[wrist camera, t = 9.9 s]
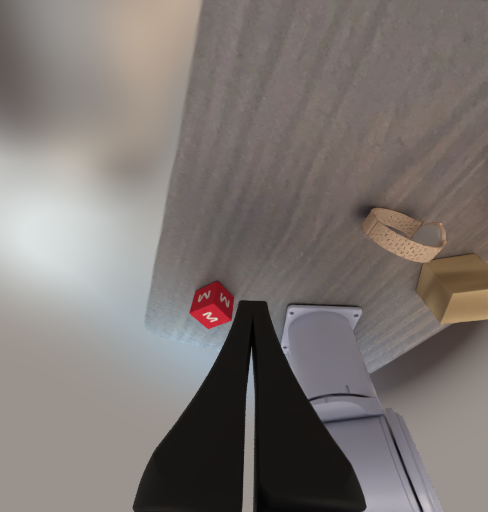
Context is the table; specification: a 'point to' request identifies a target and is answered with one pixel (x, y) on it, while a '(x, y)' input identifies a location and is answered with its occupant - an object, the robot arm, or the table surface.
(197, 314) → the red letter cube
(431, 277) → the birch block
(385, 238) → the tan wristwatch
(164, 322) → the table surface
